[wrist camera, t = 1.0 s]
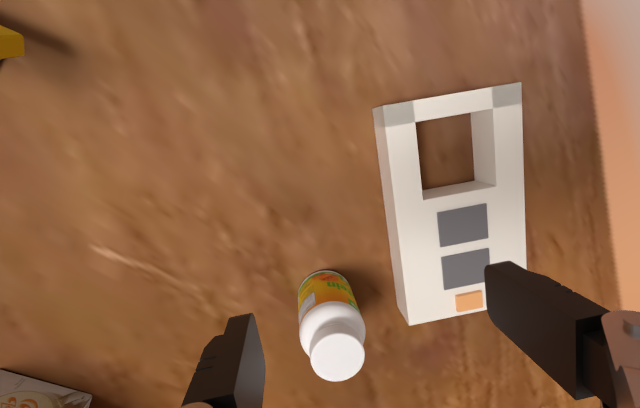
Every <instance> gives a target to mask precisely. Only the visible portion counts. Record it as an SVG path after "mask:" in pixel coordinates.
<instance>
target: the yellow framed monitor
mask: <svg viewBox="0 0 640 408" xmlns="http://www.w3.org/2000/svg"><path fill="white" fill-rule="evenodd" d="M18 56H25V54H24V38H23V36H22V35H21V34H20V33H17V32H15V31H13V30H10V29H8V28H6V27H3V26H1V25H0V60H1V59H3V58H11V57H18Z"/></svg>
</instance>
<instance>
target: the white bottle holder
mask: <svg viewBox="0 0 640 408" xmlns="http://www.w3.org/2000/svg"><path fill="white" fill-rule="evenodd" d="M372 112H373V120H374V127H375V135H376V143H377V151H378V159H379V166H380V174H381V182H382V190H383V198H384V206H385V213H386V221H387V229H388V237H389V245H390V252H391V260H392V268H393V276H394V284H395V291H396V299H397V307H398V308H399V310H400V311H401V313H402V315H403V316H404V318H405V320H406V321H407V323H408V324H409V326H410V325H415V324H420V323H425V322H430V321H434V320H439V319H444V318H449V317H454V316H458V315H463V314H468V313H473V312H478V311H483V310H487V306H486V293H485V279H484V269H485V266H486V265H489V264H494V263H499V262H504V261H512V262H513V263H515V264H517V265H519V266H520V267H522V268H524V269H526V234H525V198H524V162H523V126H522V90H521V82H518V83H512V84H506V85H500V86H495V87H489V88H483V89H477V90H472V91H466V92H460V93H454V94H448V95H443V96H437V97H431V98H425V99H419V100H414V101H408V102H402V103H396V104H390V105H385V106H380V107H376V108H373V109H372ZM464 113H471V129H472V145H473V161H474V177H475V181H470V182H464V183H459V184H454V185H448V186H443V187H438V188H432V189H427V190H422V185H421V175H420V165H419V155H418V145H417V135H416V125H415V122H419V121H425V120H430V119H436V118H442V117H447V116H453V115H459V114H464ZM526 270H527V269H526Z"/></svg>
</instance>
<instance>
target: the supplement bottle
mask: <svg viewBox="0 0 640 408" xmlns="http://www.w3.org/2000/svg"><path fill="white" fill-rule="evenodd" d="M298 312H299V334H300V341H301V345H302V347H303V349H304V351H305V352H306V354H307V355H308V356H309V357H310V360H311V365H312V367H313V369H314V371H315V372H316V373H317V374H318V375H319V376H320V377H321V378H323V379H326V380H329V381H343V380H346V379H349V378H350V377H352V376H354V375H355V374H356V373H357V372H358V371H359V370H360V368H361V367H362V365H363V362H364V357H365V352H364V348H363V343H364V339H365V325H364V322H363V319H362V316H361V314H360V311H359V309H358V306H357V303H356V301H355V298H354V295H353V293H352V290H351V287H350V285H349V283H348V282H347V280H346V279H345V278H344V277H343V276H342V275H340V274H338V273H336V272H334V271H328V270H324V271H318V272H315V273H313V274H311V275H310V276H308V277H307V278H306V279H305V280H304V281H303V283H302V284H301V286H300V288H299V292H298Z"/></svg>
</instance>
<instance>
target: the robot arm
mask: <svg viewBox="0 0 640 408" xmlns="http://www.w3.org/2000/svg"><path fill="white" fill-rule="evenodd" d="M484 279H485V293H486V306H487V311H488V314H489V317H490V319H491V320H492V322H493V323H494V325H495V326H496V327H498V328H499V329H500V330H501V331H502V332H503V333H504V334H505V335H506V336H507V337H508V338H509V339H510V340H512V341H513V342H514V343H515V344H516V345H517V346H518V347H519V348H520V349H521V350H522V351H523V352H524V353H526V354H527V355H528V356H529V357H530V358H531V359H532V360H533V361H534V362H535V363H536V364H537V365H538V366H540V367H541V368H542V369H543V370H544V371H545V372H546V373H547V374H548V375H549V376H550V377H551V378H552V379H554V380H555V381H556V382H557V383H558V384H559V385H560V386H561V387H562V388H563V389H564V390H565V391H566V392H568V393H569V394H570V395H571V396H572V397H573V398H574V399H575V400H580V399H584V398H588V397H593V396H597V397H598V398H599V399H600V408H640V312H636V311H627V310H619V311H612V312H611V311H609V310H607V309H605V308H603V307H601V306H600V305H598V304H596V303H594V302H592V301H591V300H589V299H587V298H585V297H583V296H582V295H580V294H578V293H576V292H572V290H571V289H569V288H567V287H565V286H561V284H560V283H558V282H556V281H554V280H552V279H551V278H549V277H547V276H544V275H540V274H537V273H534V272H530V271H527V270H526V269H524V268H522V267H520V266H519V265H517V264H515V263H513V262H512V261H504V262H499V263H494V264H489V265H486V266H485V269H484ZM264 382H265V360H264V354H263V350H262V345H261V341H260V337H259V333H258V329H257V325H256V321H255V317H254V315H253V313H249V314H244V315H240V316H235V317H230V318H229V320H228V323H227V326H226V329H225V332H224V335H219V336H215V337H214V338H213V339H212V340H211V341H210V342H209V343H208V345H207V346H206V347H205V348H204V350H203V353H202V355H201V358H200V362H199V363H198V365H197V368H196V372H195V373H194V375H193V378H192V380H191V383H190V385H189V388H188V390H187V393H186V395H185V398H184V400H183V403H182V405H181V407H180V408H262V402H263V392H264Z"/></svg>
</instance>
